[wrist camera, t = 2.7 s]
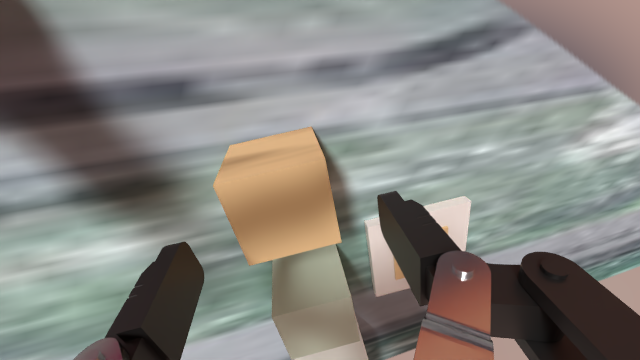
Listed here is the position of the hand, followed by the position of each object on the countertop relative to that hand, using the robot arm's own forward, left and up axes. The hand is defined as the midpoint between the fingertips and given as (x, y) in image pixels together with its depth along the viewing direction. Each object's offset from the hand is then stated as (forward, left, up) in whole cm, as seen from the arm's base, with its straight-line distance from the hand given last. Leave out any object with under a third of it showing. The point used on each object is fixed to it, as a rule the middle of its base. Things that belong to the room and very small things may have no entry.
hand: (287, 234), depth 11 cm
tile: (-3, -13, -7) cm, 15 cm away
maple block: (0, 0, -7) cm, 7 cm away
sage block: (-8, -6, -7) cm, 12 cm away
